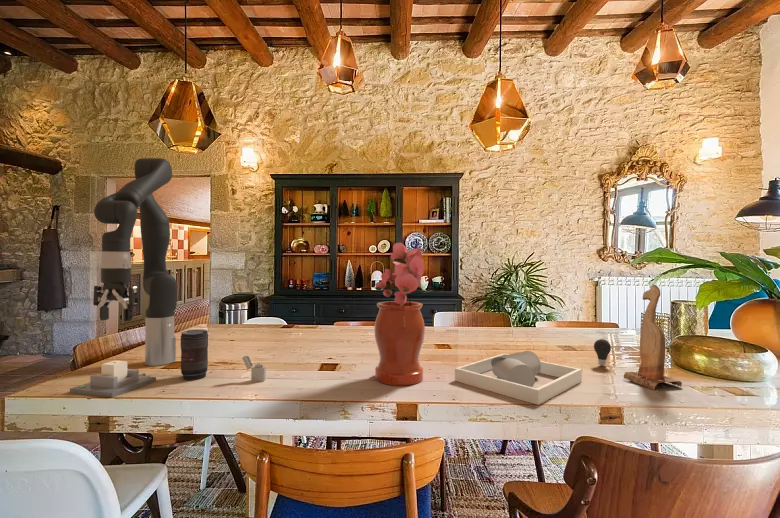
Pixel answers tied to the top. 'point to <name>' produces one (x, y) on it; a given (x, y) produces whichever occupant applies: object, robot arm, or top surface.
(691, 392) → the top surface
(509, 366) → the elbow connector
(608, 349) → the light bulb
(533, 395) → the roll tray
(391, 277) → the potted flower
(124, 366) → the charger block
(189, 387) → the top surface
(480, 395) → the top surface
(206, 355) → the camera lens
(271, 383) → the top surface
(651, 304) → the bird sculpture
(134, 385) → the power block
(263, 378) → the lighter
